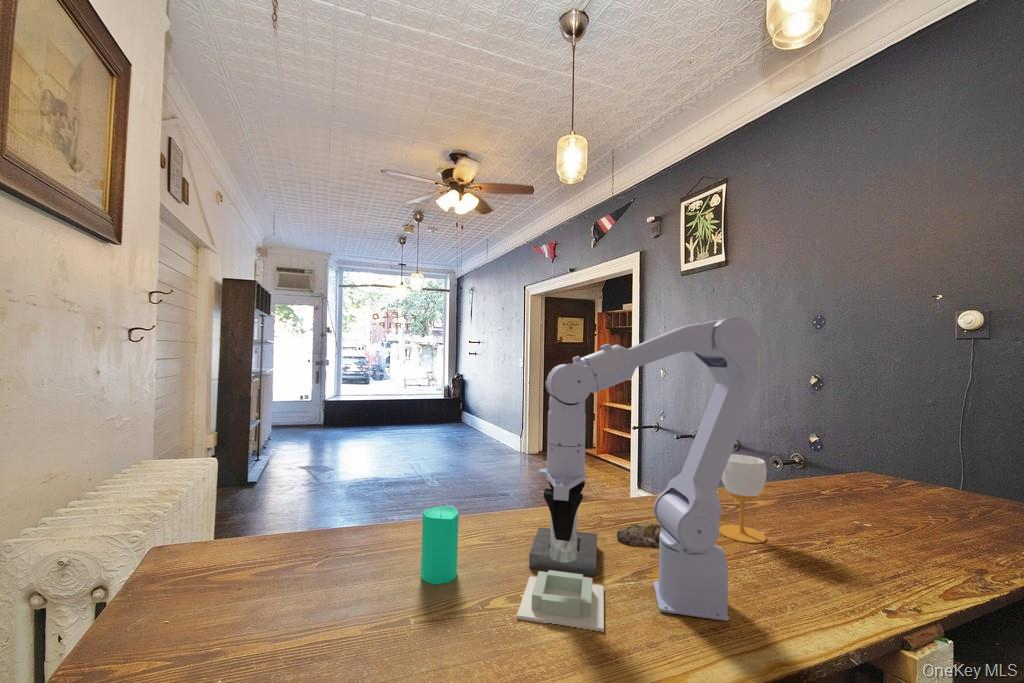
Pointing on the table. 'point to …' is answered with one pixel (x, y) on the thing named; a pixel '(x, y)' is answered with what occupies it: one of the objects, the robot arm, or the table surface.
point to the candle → (439, 544)
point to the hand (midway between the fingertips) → (564, 533)
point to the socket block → (581, 565)
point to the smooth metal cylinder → (564, 545)
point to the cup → (744, 493)
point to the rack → (563, 600)
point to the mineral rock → (640, 534)
